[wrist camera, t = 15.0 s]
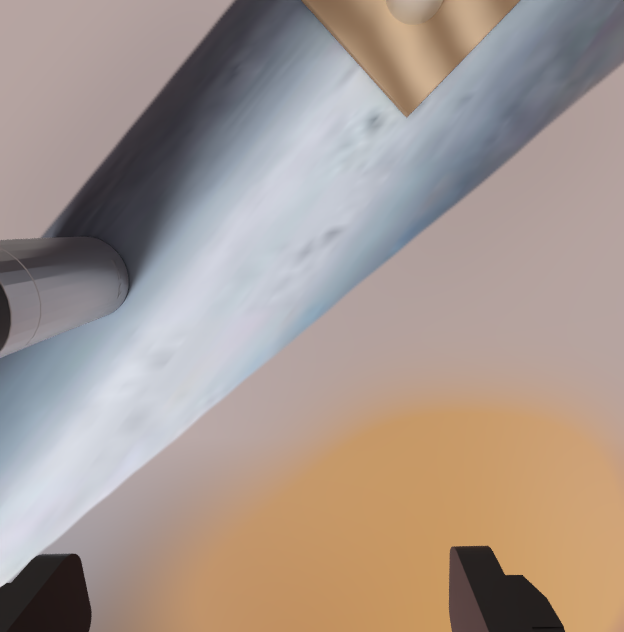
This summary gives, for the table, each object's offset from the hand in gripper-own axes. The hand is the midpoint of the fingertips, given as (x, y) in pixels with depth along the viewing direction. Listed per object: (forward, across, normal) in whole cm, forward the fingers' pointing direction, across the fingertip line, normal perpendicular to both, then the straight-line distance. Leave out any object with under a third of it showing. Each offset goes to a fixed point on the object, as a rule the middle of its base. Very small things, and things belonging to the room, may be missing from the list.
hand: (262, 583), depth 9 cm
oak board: (+37, -11, -28) cm, 48 cm away
